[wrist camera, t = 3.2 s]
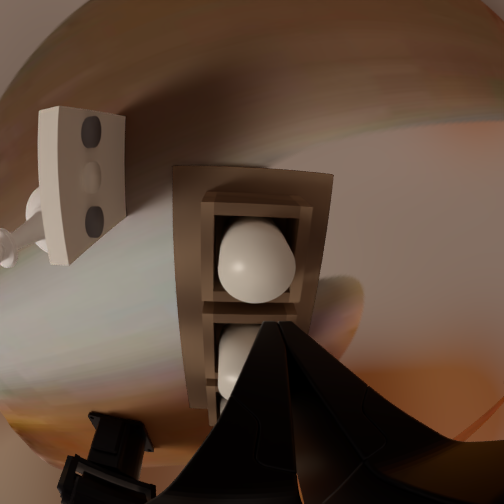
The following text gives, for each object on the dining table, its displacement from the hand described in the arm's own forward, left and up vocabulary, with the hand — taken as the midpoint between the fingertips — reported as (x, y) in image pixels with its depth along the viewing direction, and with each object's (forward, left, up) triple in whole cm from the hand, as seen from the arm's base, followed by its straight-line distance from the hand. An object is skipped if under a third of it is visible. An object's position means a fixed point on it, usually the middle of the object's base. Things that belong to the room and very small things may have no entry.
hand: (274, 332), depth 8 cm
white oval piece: (0, 0, -9) cm, 9 cm away
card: (+4, +8, -9) cm, 13 cm away
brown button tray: (-6, 0, -9) cm, 11 cm away
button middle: (-6, 0, -7) cm, 10 cm away
